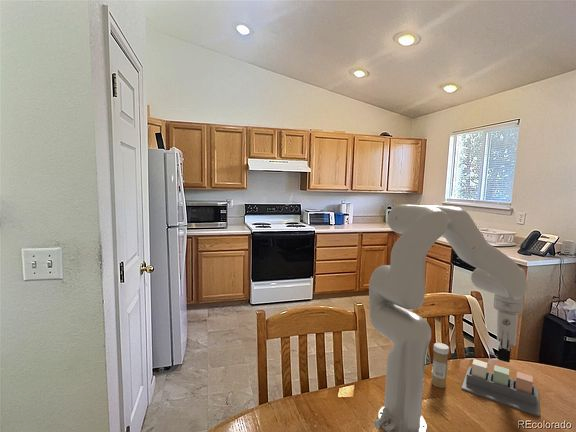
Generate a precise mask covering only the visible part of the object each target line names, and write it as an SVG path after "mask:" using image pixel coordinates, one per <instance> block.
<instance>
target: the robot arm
mask: <svg viewBox="0 0 576 432" xmlns="http://www.w3.org/2000/svg"><path fill="white" fill-rule="evenodd" d="M387 224H388V227H389V228H390V229H391V230H392V232H394V233H397V234H399V235H400V236H399V238H397V240H396V241H395V242H394V244H393V246H392V249H391V252H390V264H388V265H387V264H383V265H380V266H378V267H376V268H375V269H374V271H372V273H371V276H370V277H369V278H370V279H369V282H368V299H369V300H368V302H369V303H368V304H369V305H368V306H369V307H368V308H369V309H368V311H369V319H370V323H371V325H372V327H373V328H374V329H375V331H377V332H378V333H380V334H381V335H383V336H384V337H385V338H387V339H388V340H389V341H391V342H392V343H393V347H392V349H391V350H390V351H389V353H388V355H387V358H386V372H385V386H384V387H385V388H384V404H383V405H384V406H382V407H381V408H380V409H379V410H378V412H377V418H376V419H375V420H374V421H373V427H374V428H375V429H377V430H378V429H380V428H382V429H383V430H384V431H385V432H427V428H428V427H427V426H428V425H427V423H426V420H425V419H424V417H423V416H422V409H423V408H422V407H423V391H424V381H425V379H424V378H425V365H426V357H427V352H428V349H429V345H430V342H431V338H432V329H431V326H430V325H429V324H430V323H428V322H427V321H426V319H425V318H424V317H422V316H420V315H419V314H418V313H415V312H413V311H416V310H418V309H419V308H421V307H422V306H423V304H424V301H425V296H426V259H427V255H428V252H429V251H430V249H431V248H432V246H433V244H435V243H436V241H438V240H439V239H440V238H441V237H444V238H445V240H446V241H447V242H448V244H449V245H450V247H451V248H452V250H453V251H454V253H455V254H456V255H457V257H458V258H459V259H460V260H462V261H463V262H465V263H466V264H468V265H470V266H472V267H474V268H475V269H474V270H472V273H471V275H470V276H471V277H470V278H471V283H472V284H473V286H475V287H476V288H477V289H480V290H481V291H484V292H488V293H491V294H494V295H493V296H494V297H493V308H494V309H495V310H497V314H496V315H497V318H496V341H497V342H499V345H498V349H497V360H499V361H502V362H505V363H510V362H511V349H512V348H511V345H512V346H516V345H517V336H518V326H519V325H518V324H519V315H521V314H522V313H523V306H524V296H525V295H526V294H527V290H528V282H527V279H526V271H525V270H524V269H523V268H522V267H520V266H519V265H518V264H517V263H516V262H515V261H514V260H513V259H512V258H511V257H509V256H508V255H507V254H506V253H503V252H502V251H501V250H499V249H498V248H496V247H495V246H494V245H492V244H491V243H489V242H488V241H487V240H486V238H485V237H484V235H483V234H482V232H481V231H480V229H479V227H478V225H477V224H476V223H475V221H474V220H473V218H472V217H471V215H470V213H468V212H467V210H465V209H464V208H461V207H457V206H449V205H448V206H446V205H425V204H424V205H422V204H421V205H420V204H419V205H417V204H403V203H402V204H397V205H395V206H394V207H393V208H391V209H390V211H389V212H388V215H387Z"/></svg>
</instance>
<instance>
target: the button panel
mask: <svg viewBox="0 0 576 432" xmlns="http://www.w3.org/2000/svg"><path fill="white" fill-rule="evenodd" d="M493 373H494V372H490V371H487V375H486V380H485V379H482V378H479V377H476V376H473V375H471V374H472V366H470V365H469V366H468V368H467V371H466V374H465V377H464V379H463V381H462V382H463V383H462V385H461V390H462V391H465V392H468V393H470V394H473V395H477V396H480V397H481V398H484V399H488V400H491V401H494V402H497V403H498V404H501V405H505V406H508V407H511V408H513V409H516V410H518V411H522V412H525V413H528V414H530V415H533V416H536V417H538V418H540V416H541V415H540V399H539V390H538V389H537V386H535V385H533V386H532V394H528V393H525V392H522V391H519V390H516V389H515V386H516V379H512V378H508V387H507V386H504V385H501V384H498V383H495V382H493Z"/></svg>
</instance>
